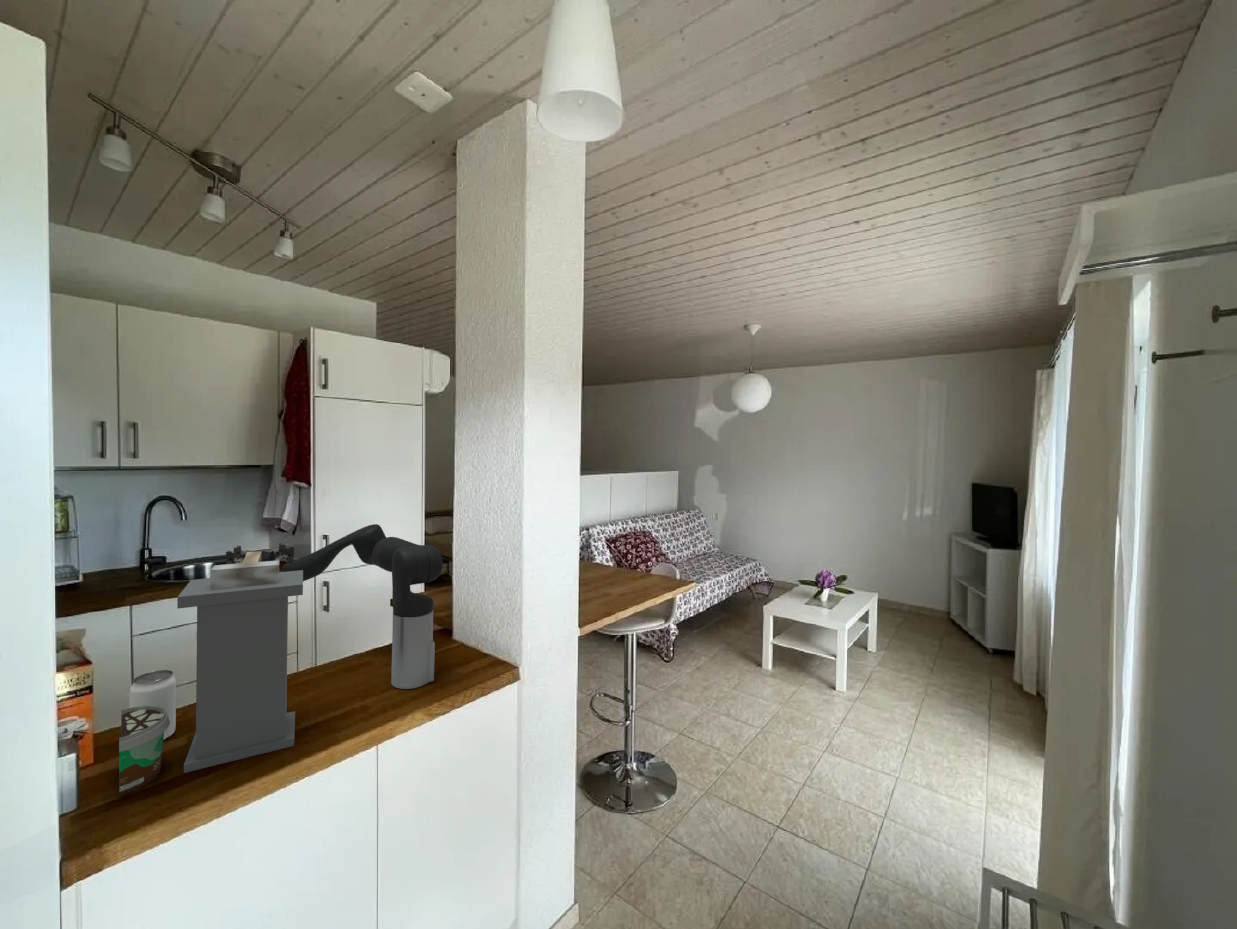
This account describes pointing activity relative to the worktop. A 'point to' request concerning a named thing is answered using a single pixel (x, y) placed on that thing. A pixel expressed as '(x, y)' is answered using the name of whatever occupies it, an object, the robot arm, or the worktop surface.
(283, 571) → the robot arm
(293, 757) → the worktop surface
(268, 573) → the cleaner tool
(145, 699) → the can
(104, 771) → the worktop surface
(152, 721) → the food container
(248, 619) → the stand
